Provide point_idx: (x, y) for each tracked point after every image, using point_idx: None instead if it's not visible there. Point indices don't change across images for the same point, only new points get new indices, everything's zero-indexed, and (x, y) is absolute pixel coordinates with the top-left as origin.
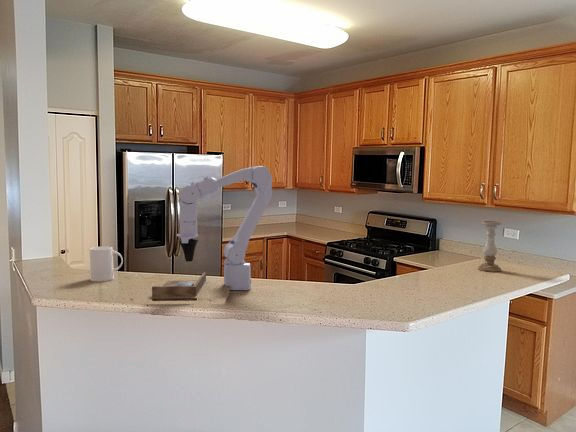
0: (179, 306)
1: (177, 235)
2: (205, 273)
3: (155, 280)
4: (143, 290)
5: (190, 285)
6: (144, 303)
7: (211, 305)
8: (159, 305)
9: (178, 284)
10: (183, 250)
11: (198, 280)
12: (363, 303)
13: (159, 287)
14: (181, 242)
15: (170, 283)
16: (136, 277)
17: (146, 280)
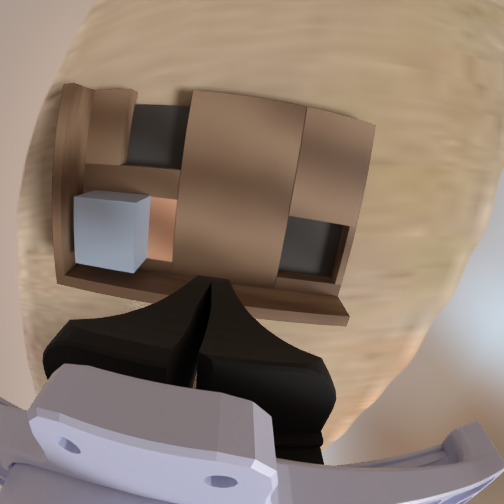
0: (32, 209)
1: (34, 406)
2: (331, 323)
3: (442, 85)
4: (278, 26)
5: (76, 260)
6: (73, 76)
7: (47, 305)
8: (44, 137)
9: (93, 201)
10: (144, 310)
11: (161, 297)
12: None
13: (59, 118)
14: (49, 356)
15: (314, 136)
16: (478, 36)
17: (443, 54)
